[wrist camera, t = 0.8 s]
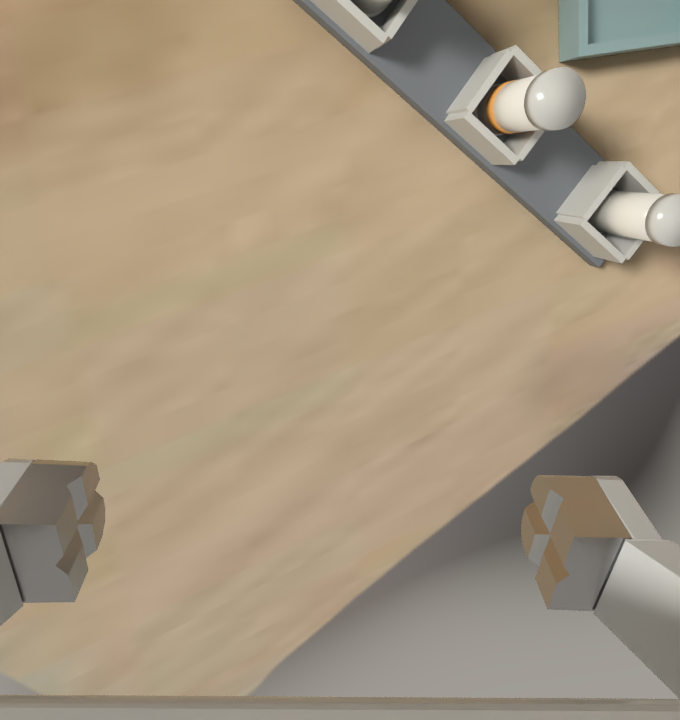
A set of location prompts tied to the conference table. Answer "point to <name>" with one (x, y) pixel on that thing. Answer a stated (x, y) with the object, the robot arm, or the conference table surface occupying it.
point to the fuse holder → (456, 122)
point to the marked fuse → (533, 103)
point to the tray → (616, 27)
